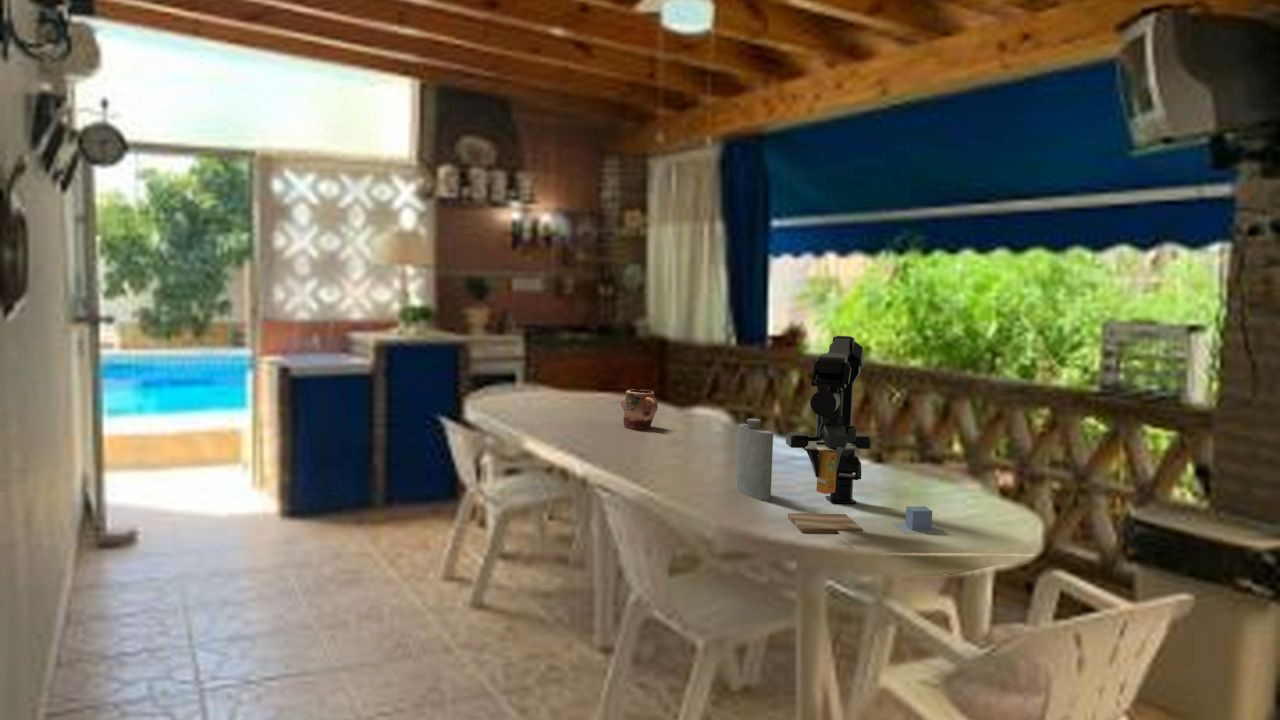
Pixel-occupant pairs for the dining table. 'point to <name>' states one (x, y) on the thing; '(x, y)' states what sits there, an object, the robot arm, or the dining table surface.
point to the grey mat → (906, 530)
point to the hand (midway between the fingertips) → (826, 477)
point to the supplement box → (827, 471)
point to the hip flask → (754, 460)
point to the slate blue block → (918, 518)
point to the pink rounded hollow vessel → (639, 408)
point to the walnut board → (823, 523)
